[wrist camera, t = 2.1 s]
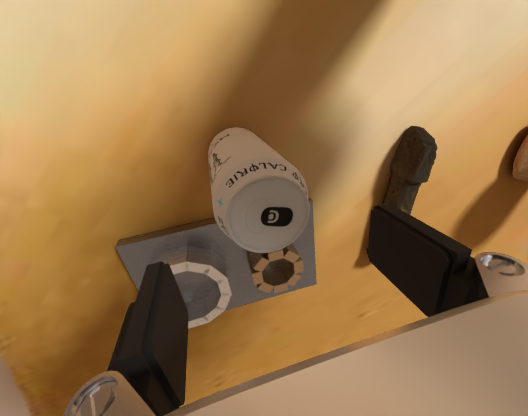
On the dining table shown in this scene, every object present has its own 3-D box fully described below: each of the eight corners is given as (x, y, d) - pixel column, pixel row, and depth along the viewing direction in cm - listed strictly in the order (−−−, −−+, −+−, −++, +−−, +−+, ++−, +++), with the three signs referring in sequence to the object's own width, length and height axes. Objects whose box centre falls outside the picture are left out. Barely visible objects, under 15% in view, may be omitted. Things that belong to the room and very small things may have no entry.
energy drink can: (209, 122, 24) (218, 158, 11) (266, 129, 26) (331, 169, 13) (206, 178, 27) (210, 262, 14) (258, 182, 28) (306, 260, 15)
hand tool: (384, 249, 39) (405, 268, 35) (362, 251, 38) (381, 270, 34) (427, 126, 31) (460, 131, 27) (400, 124, 30) (431, 129, 26)
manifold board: (307, 196, 31) (323, 211, 27) (312, 277, 37) (325, 299, 33) (119, 239, 28) (105, 264, 24) (160, 320, 34) (154, 350, 30)
